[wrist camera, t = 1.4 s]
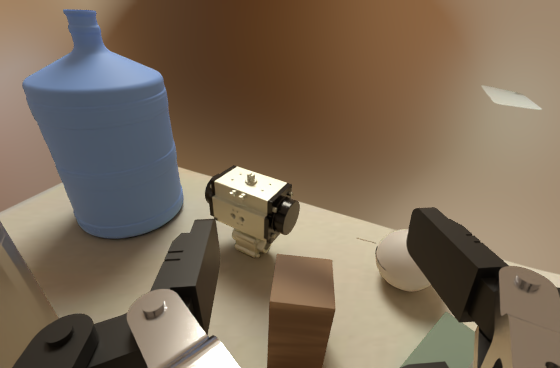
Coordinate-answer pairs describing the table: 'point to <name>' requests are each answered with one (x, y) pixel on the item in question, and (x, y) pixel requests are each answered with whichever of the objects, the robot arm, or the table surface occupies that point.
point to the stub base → (446, 345)
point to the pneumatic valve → (252, 208)
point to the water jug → (107, 135)
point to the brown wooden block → (300, 312)
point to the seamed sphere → (399, 263)
